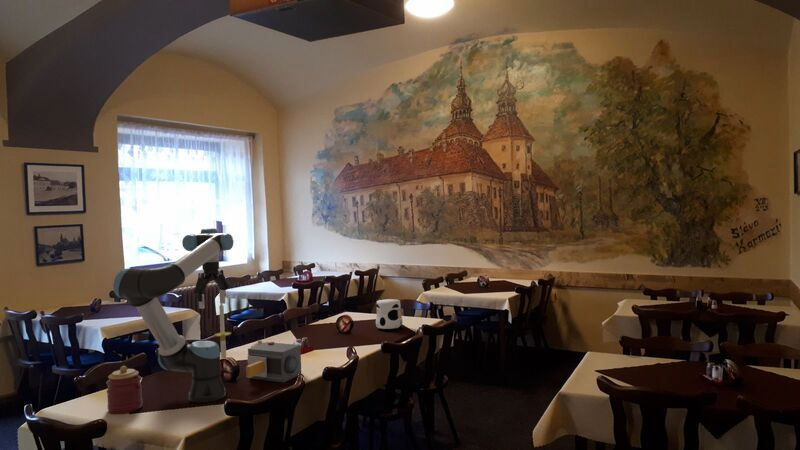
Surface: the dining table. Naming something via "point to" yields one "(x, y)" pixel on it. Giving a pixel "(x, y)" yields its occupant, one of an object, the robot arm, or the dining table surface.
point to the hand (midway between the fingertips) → (212, 305)
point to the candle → (222, 332)
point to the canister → (124, 391)
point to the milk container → (388, 314)
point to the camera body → (278, 360)
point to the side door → (256, 367)
